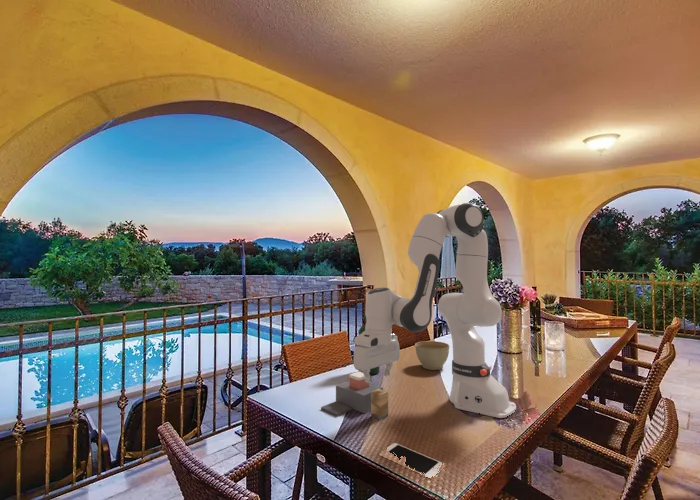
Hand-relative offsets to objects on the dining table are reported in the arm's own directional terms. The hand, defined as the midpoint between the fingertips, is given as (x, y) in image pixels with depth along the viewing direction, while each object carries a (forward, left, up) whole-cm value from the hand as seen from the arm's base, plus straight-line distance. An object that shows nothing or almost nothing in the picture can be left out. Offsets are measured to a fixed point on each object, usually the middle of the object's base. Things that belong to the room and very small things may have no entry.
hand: (377, 378), depth 116 cm
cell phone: (-22, +13, -13) cm, 29 cm away
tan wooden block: (0, -1, -12) cm, 12 cm away
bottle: (+32, -33, -13) cm, 47 cm away
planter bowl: (+15, -59, -13) cm, 62 cm away
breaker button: (+12, -4, -7) cm, 14 cm away
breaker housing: (+12, -4, -12) cm, 17 cm away
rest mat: (+14, +6, -12) cm, 19 cm away
